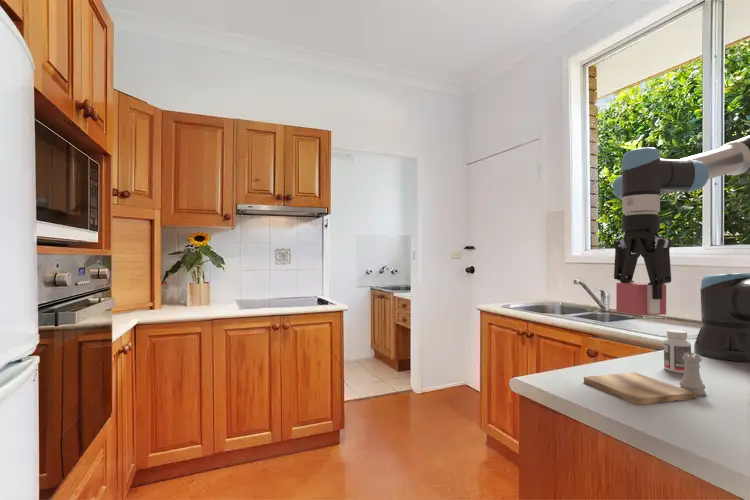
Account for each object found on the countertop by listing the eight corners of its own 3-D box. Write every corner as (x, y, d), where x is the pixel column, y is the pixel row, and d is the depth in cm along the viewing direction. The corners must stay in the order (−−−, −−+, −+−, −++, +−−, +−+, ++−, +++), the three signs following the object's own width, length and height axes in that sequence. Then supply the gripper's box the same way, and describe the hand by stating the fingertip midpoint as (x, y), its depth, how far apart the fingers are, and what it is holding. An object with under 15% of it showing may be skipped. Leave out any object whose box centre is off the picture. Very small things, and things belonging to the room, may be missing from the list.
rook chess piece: (711, 396, 80) (710, 357, 80) (686, 395, 81) (685, 356, 81) (698, 389, 85) (697, 351, 85) (674, 388, 86) (673, 351, 86)
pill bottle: (694, 371, 98) (694, 331, 98) (687, 375, 95) (686, 334, 95) (668, 366, 102) (668, 328, 102) (660, 370, 99) (660, 330, 99)
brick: (643, 310, 98) (643, 282, 98) (666, 314, 93) (666, 284, 93) (616, 311, 97) (616, 282, 97) (637, 315, 91) (637, 284, 91)
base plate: (634, 377, 93) (634, 372, 93) (695, 398, 79) (695, 392, 79) (583, 382, 90) (583, 376, 90) (638, 405, 76) (638, 398, 76)
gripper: (596, 217, 103) (596, 306, 103) (664, 209, 85) (664, 318, 84) (621, 218, 105) (621, 305, 105) (692, 210, 86) (693, 317, 86)
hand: (640, 311), depth 95 cm, fingers closed on brick, 6 cm apart
